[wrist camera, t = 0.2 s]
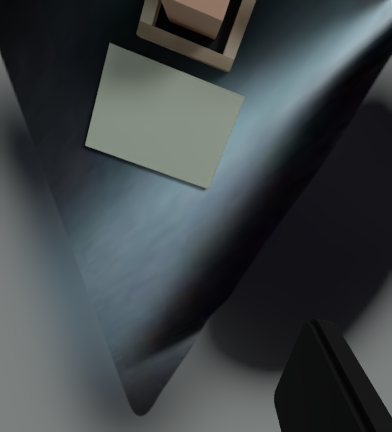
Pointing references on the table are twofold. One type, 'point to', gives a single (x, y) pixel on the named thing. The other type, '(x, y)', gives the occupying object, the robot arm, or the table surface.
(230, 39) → the pocket frame
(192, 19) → the terracotta block
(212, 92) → the sage pad
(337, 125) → the table surface
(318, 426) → the robot arm
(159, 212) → the table surface
